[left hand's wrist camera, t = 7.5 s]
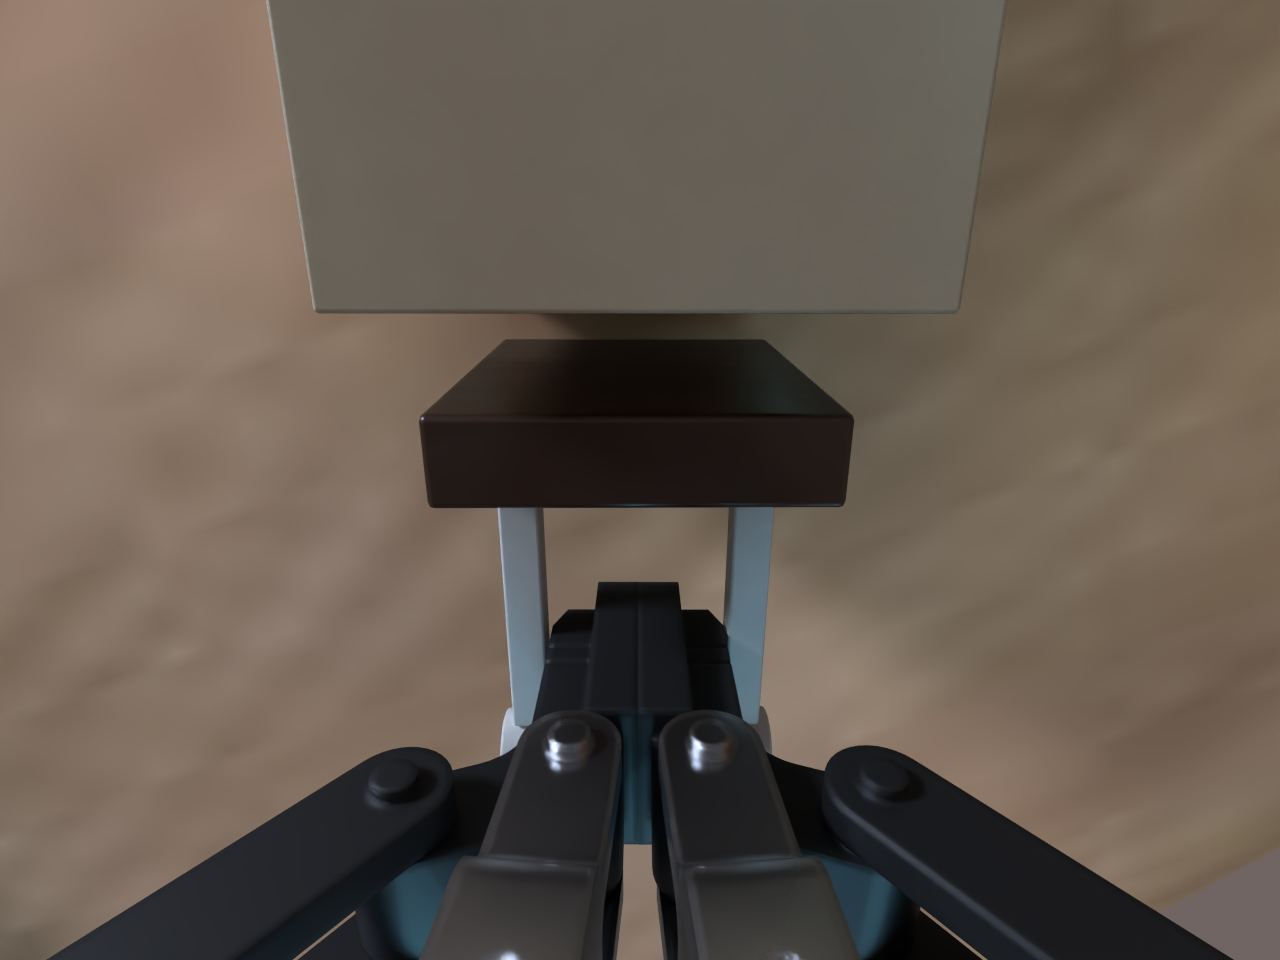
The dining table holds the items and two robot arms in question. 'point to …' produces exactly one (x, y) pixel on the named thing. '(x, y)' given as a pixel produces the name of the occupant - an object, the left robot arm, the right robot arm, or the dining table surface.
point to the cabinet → (636, 153)
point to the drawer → (635, 467)
